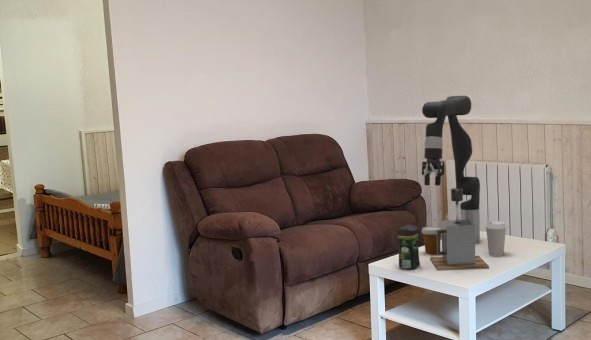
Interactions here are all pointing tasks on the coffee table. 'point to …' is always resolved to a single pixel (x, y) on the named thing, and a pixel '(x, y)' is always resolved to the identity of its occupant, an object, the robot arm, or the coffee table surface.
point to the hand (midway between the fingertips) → (432, 185)
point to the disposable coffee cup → (430, 239)
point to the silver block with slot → (457, 242)
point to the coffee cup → (496, 237)
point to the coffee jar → (408, 247)
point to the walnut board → (441, 265)
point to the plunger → (457, 199)
